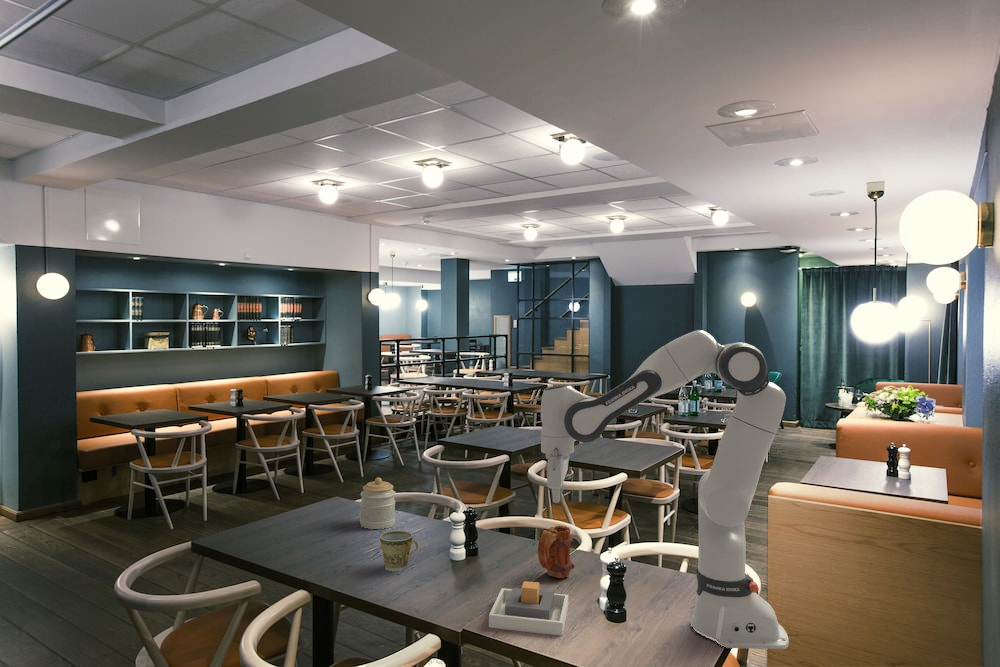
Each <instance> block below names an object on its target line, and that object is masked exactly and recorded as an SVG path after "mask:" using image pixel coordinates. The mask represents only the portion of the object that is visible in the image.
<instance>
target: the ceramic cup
mask: <svg viewBox="0 0 1000 667" xmlns="http://www.w3.org/2000/svg"><path fill="white" fill-rule="evenodd" d="M379 540H380V541H379V542H380V547H381V550H382V556H383V564H384V568H385V571H387V570H388V572H391V571H392V572H393V573H394V572H395V573H396V572H403V571H405V570H407V567H408V561H409V557H410V556H411V555H412V554H413V553H415V552H416V551H417V550H418V548H419V545H418V543H417V541H416V540H413V533H412V532H410V531H408V530H400V529H397V530H396V529H395V530H388V531H385V532H383V533H381V534H380V535H379ZM412 544H414V545H415V549H414V550H413V551H411V549H412V548H411V547H412ZM410 551H411V552H410ZM392 572H391V573H392Z"/></svg>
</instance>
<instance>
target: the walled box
mask: <svg viewBox="0 0 1000 667" xmlns="http://www.w3.org/2000/svg"><path fill="white" fill-rule="evenodd" d="M512 589H513V588H505V587H504V588H503V587H502V588H500V591H499V593H498V596H497V597H496V600H495V601H494V604H493V606H492V607H491V610H490V612H489V614H488V628H493V629H500V630H501V629H502V630H509V631H516V632H517V631H519V632H527V633H536V634H545V635H552V636H553V635H554V636H561V637H562V636H563V635H564V631H565V630H564V629H565V625H566V621H567V619H566V618H567V614H568V609H569V594H564V593H563V594H562V593H554V611H553V615H552V619H551V620H545V619H536V618H527V617H517V616H508V615H505V605H506V603H507V600H508V598H509V596H510V593H511V591H512Z"/></svg>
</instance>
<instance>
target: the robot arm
mask: <svg viewBox="0 0 1000 667" xmlns="http://www.w3.org/2000/svg"><path fill="white" fill-rule="evenodd" d="M768 372H769V370H768V364H767V359H766V358H765V356H764V354H763V353H762V351H761V350H760V349H758V348H757V347H756V346H754V345H752V344H749V343H747V342H738V341H737V342H733V343H719V342H718V341H717V340H716V339H715V337H714V336H713V335H711V334H710V333H709V332H707V331H705V330H702V329H697V330H693V331H691V332H688V333H686V334H684V335H680V336H679V337H677V338H675V339H673V340H671V341H670V342H668V343H666V344H665V345H663V346H661V347H659V348H658V349H657V350H655V351H654V352H653V353H652V354H650V355H648V357H647V358H646V359H645V360H643V361H642V363H641V364H640V365H639V366H638V368H637V369H636V371H634V373H633V374H631V376H630V377H629V378H628V379H627V380H625V381H624V382H622V383H620V384H619V385H617V386H616V387H614V388H613V389H611V390H610V391H609V390H608V392H607V393H604V394H603V395H601V396H599V397H594V396H590V395H588V394H585V393H583V392H581V391H578V390H577V389H575V388H574V387H573V386H572V385H570V384H558V385H553V386H549V387H547V388H546V389H545V390H544V391H543V392H542V396H541V400H540V403H541V404H540V421H541V431H540V452H541V453H542V454H545V459H547V465H546V466H547V467H546V468H547V469H546V474H547V477H546V483H547V488H549V489H551V495H552V502H553V503H555V504H559V503H560V501H561V494H562V493H563V492H564V482H565V478H566V475H567V473H568V468H569V460H570V457H571V456H570V455H571V454H574V453H575V441H577V442H580V443H590V442H594V441H595V440H597V439H598V438H599V437H600V436H601V435H602V434H603V432H604V431H605V429H606V427H607V426H608V425H609V424H610V423H611V422H612V421H613V420H615V419H616V418H618V417H619V416H621V415H623V414H625V413H626V412H627V411H629V410H631V409H632V408H634V407H635V406H637V405H639V404H640V403H643V402H645V401H647V400H651V399H653V398H657V397H658V396H662V395H664V394H667V393H668V394H669V392H673V391H675V390H676V389H680V388H681V387H683V386H685V385H687V384H689V383H690V382H691V381H693V380H695V379H697V378H698V377H700V376H702V375H704V374H710V373H712V374H715V375H716V376H717V377H718V378H720V380H721V381H722V382H723V383H725V384H726V385H728V386H730V387H732V388H733V389H735V391H736V393H737V394H736V395H737V396H736V397H737V398H736V402H735V405H734V407H733V409H732V412H731V414H730V416H729V419H728V421H727V423H726V425H725V428H724V431H723V434H722V435H721V438H720V440H719V442H718V446H717V449H716V453H715V456H714V459H713V462H712V466H711V468H710V469H708V470H707V471H705V472H704V473H703V474H702V476H701V477H700V479H699V481H698V490H697V491H698V496H697V497H698V498H697V500H698V506H697V507H698V511H697V512H698V519H697V520H698V557H697V558H698V561H697V563H698V566H697V568H696V570H695V571H696V572H695V591H696V598H695V603H694V604H695V605H694V609H693V613H692V617H691V620H690V622H691V624H692V626H693V627H694V628H695V629H696V630H697V631H699V632H701V633H703V634H705V635H707V636H709V637H712V638H714V639H716V640H717V641H718V642H720V644H722V645H724V646H725V647H726V648H725V649H751V650H752V649H754V650H755V649H757V650H762V649H763V650H786V649H787V648H788V646H789V636H788V633H787V631H786V630H785V628H784V627H783V626H782V624H780V623H779V622H778V618H777V614H776V611H775V610H774V609H773V607H772V605H771V604H770V603H769V602H768V601H766V600H765V599H764V598H762V597H761V596H760V595H759V594H758V592H759V590H760V588H759V586H758V584H757V582H755V580H754V579H753V578H752V577H751V575H750V574H748V573H746V555H747V554H746V549H747V548H746V547H747V546H746V544H747V542H746V534H745V533H746V531H745V530H746V529H745V528H746V527H745V520H746V519H747V517H748V514H749V513H750V512H749V511H750V507H751V505H752V501H753V499H754V497H755V493H756V490H757V486H758V485H759V484H758V483H759V480H760V477H761V472H762V470H763V466H764V463H765V461H766V458H767V456H768V453H769V451H770V449H771V447H772V444H773V441H774V439H775V437H776V435H777V434H778V433H777V432H778V431H779V427H780V424H781V423H782V422H781V421H782V419H783V416H784V411H785V409H786V408H785V407H786V402H787V395H786V394H785V391H784V390H783V389H782V388H781V387H780V386H779V385H777V383H774V382H771V381H770V378H769V373H768Z"/></svg>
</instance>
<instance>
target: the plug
mask: <svg viewBox="0 0 1000 667" xmlns="http://www.w3.org/2000/svg"><path fill="white" fill-rule="evenodd" d="M521 589H522V592H521V603H529V604H539V590H540V582H538V581H526V580H525V581H523V583H522V585H521Z"/></svg>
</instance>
